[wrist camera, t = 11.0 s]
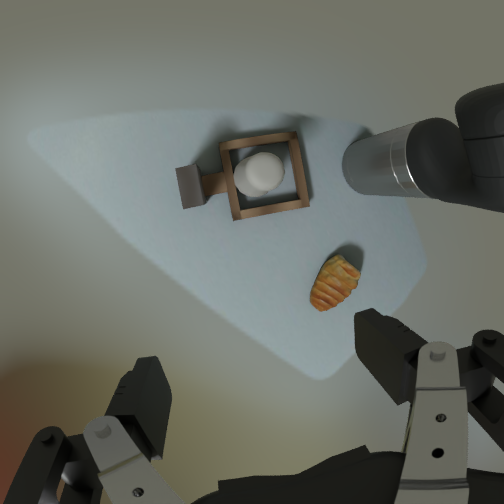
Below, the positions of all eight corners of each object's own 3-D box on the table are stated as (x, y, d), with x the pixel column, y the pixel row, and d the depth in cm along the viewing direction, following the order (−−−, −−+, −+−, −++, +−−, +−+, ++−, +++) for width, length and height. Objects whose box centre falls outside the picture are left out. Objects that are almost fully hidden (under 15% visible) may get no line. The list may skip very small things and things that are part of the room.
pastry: (327, 314, 48) (335, 323, 44) (298, 295, 46) (304, 303, 43) (359, 270, 47) (370, 276, 43) (332, 248, 45) (341, 253, 42)
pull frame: (293, 133, 41) (309, 120, 33) (306, 205, 43) (325, 208, 35) (179, 152, 39) (171, 143, 32) (194, 227, 42) (188, 235, 34)
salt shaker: (238, 154, 41) (247, 136, 28) (275, 164, 42) (299, 152, 29) (228, 191, 42) (232, 190, 29) (265, 201, 42) (285, 204, 30)
